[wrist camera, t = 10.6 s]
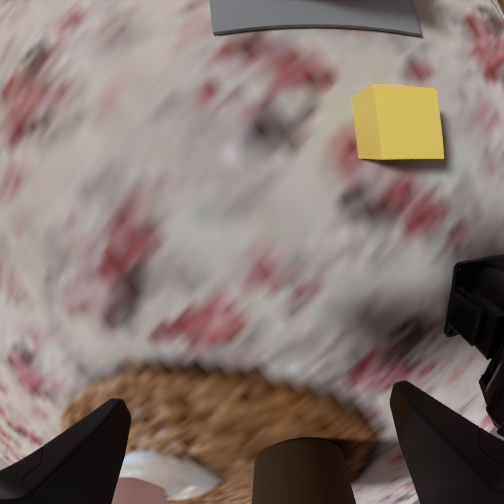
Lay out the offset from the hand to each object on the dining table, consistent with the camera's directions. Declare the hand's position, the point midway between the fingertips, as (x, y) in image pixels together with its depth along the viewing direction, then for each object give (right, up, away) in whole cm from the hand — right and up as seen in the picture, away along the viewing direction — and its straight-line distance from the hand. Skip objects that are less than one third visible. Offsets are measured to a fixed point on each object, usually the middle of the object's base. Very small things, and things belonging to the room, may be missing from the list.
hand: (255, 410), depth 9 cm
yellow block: (+8, +13, +8) cm, 17 cm away
